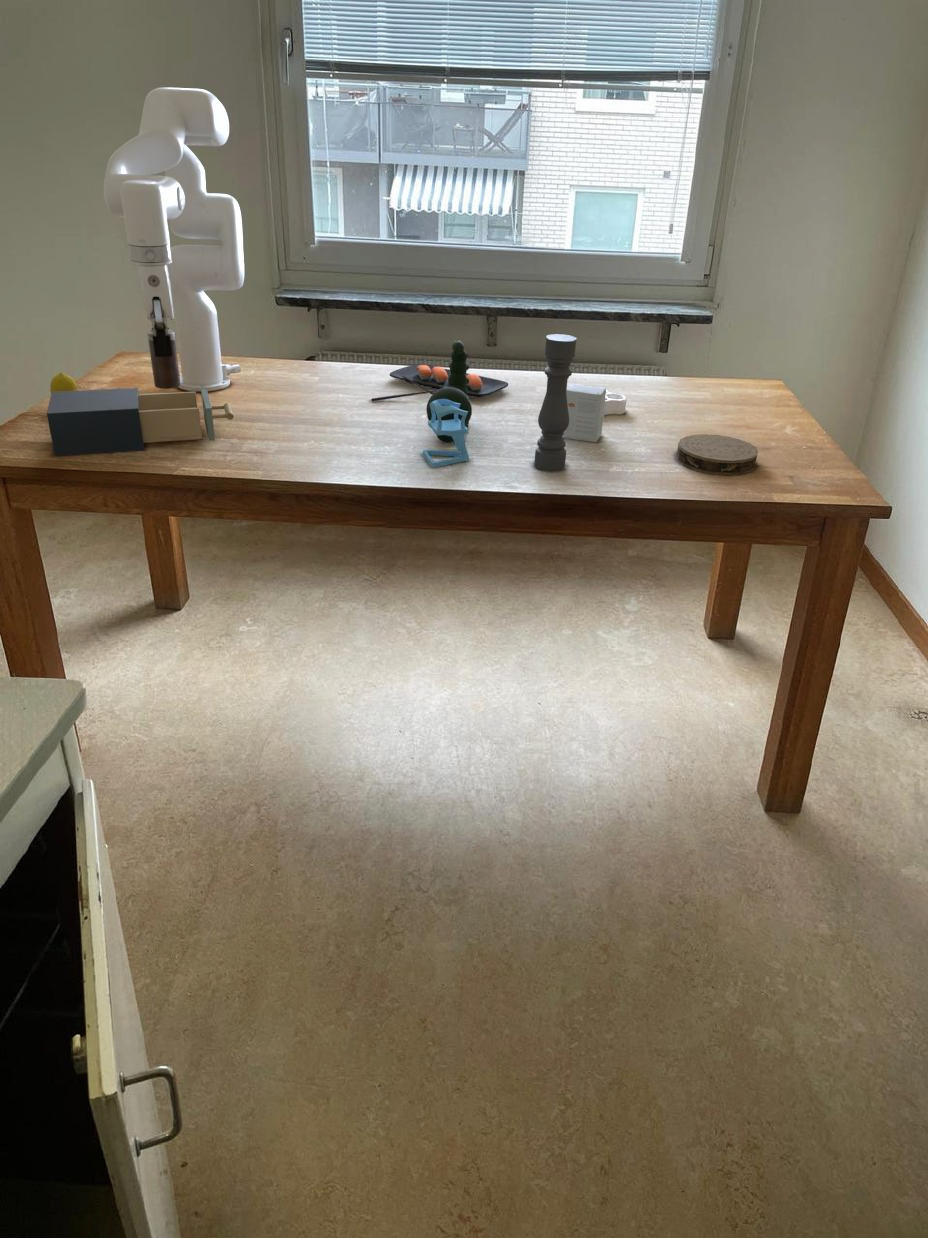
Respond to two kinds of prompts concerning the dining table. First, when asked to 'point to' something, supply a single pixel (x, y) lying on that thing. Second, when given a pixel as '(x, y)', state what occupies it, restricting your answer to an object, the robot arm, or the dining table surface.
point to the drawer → (177, 416)
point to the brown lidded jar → (165, 365)
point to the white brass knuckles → (614, 403)
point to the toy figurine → (454, 388)
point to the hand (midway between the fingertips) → (163, 351)
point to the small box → (585, 412)
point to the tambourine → (716, 454)
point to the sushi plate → (442, 381)
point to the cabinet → (95, 421)
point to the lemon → (63, 383)
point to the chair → (448, 432)
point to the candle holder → (555, 403)
